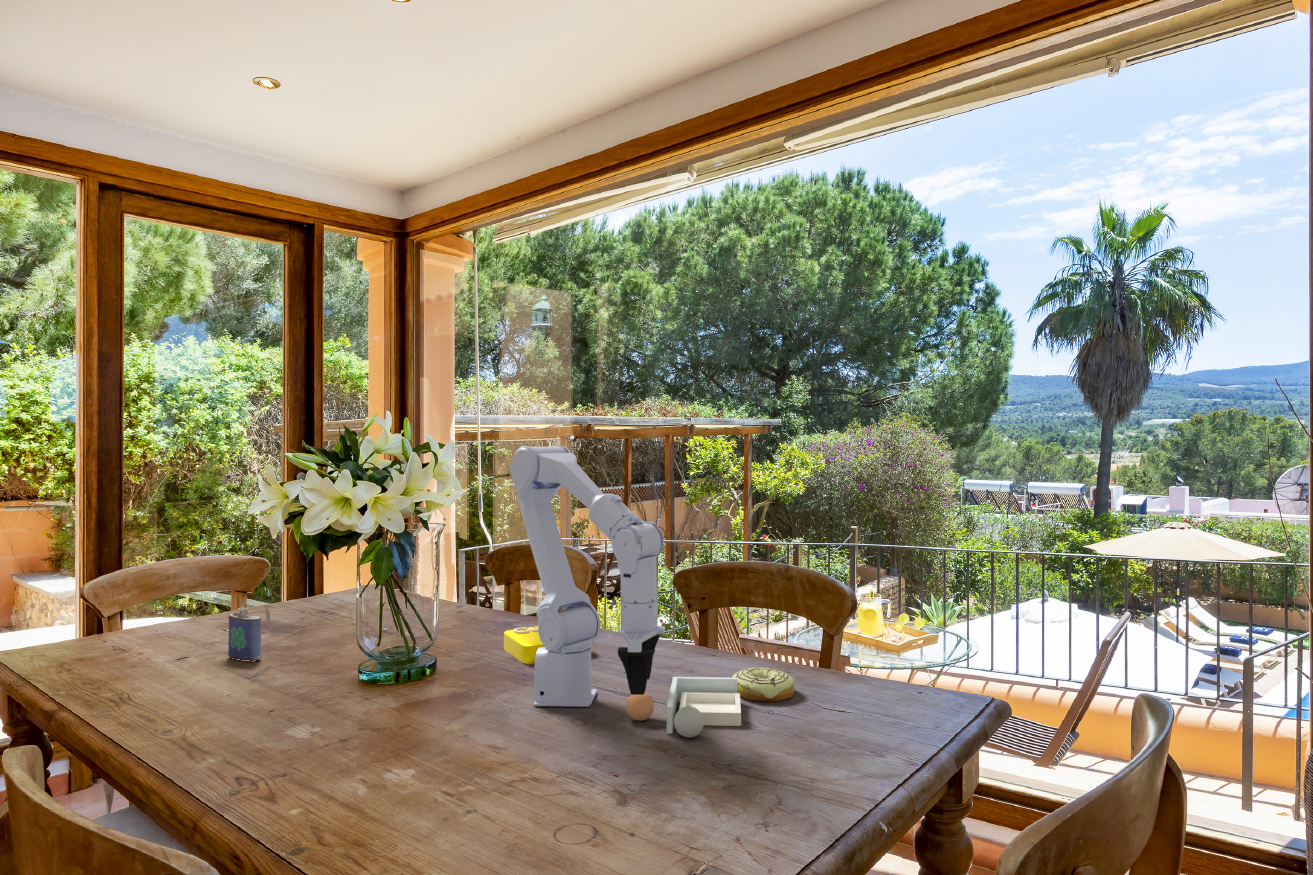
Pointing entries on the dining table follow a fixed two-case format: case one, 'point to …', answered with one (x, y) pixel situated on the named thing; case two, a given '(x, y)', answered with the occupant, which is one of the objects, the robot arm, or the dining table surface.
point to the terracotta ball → (640, 706)
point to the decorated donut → (764, 684)
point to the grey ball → (689, 721)
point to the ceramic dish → (715, 707)
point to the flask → (244, 636)
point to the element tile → (523, 643)
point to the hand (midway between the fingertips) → (640, 686)
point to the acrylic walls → (695, 686)
